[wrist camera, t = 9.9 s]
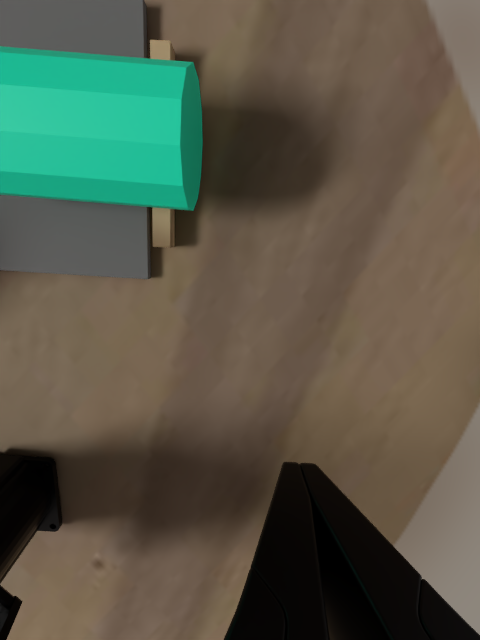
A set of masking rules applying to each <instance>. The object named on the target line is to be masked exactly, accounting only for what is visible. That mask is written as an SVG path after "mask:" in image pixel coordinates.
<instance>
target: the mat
mask: <svg viewBox="0 0 480 640" xmlns="http://www.w3.org/2000/svg"><path fill="white" fill-rule="evenodd" d="M0 46H3V47H15V48H27V49H39V50H51V51H64V52H76V53H88V54H100V55H112V56H124V57H136V58H147V12H146V4H145V2H144V0H0ZM0 270H6V271H23V272H40V273H56V274H73V275H89V276H106V277H122V278H139V279H149V278H151V264H150V207H142V206H130V205H118V204H106V203H94V202H82V201H70V200H58V199H46V198H34V197H22V196H10V195H0Z"/></svg>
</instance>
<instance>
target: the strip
mask: <svg viewBox="0 0 480 640" xmlns="http://www.w3.org/2000/svg"><path fill="white" fill-rule="evenodd" d="M150 59H161V60H173V61H175V52H174V49H173V47H172V44H171V42H170V41H164V40H150ZM152 219H153V247H168V248H171V247H175V209H166V208H154V207H152Z"/></svg>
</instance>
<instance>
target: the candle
mask: <svg viewBox="0 0 480 640" xmlns="http://www.w3.org/2000/svg"><path fill="white" fill-rule="evenodd" d="M202 147H203V135H202V106H201V96H200V87H199V79H198V76H197V73H196V69H195V66H194V63H193V62H185V61H173V60H161V59H149V58H136V57H124V56H112V55H100V54H88V53H76V52H64V51H51V50H39V49H27V48H15V47H3V46H0V195H10V196H22V197H34V198H46V199H58V200H70V201H82V202H94V203H106V204H118V205H130V206H142V207H154V208H166V209H179V210H191V211H194V208H195V205H196V202H197V199H198V195H199V187H200V180H201V169H202Z"/></svg>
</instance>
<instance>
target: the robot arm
mask: <svg viewBox="0 0 480 640" xmlns="http://www.w3.org/2000/svg"><path fill="white" fill-rule="evenodd" d="M46 464H47V465H48V466H47V465H46ZM61 525H62V516H61V508H60V499H59V490H58V481H57V472H56V463H55V461H54V460H53V459H52V458H48V457H33V456H16V455H0V583H1V582H2V580H3V579H4V578H5V576H6V575H7V573H8V572H9V570H10V569H11V568H12V566H13V565H14V563H15V562H16V560H17V559H18V558H19V556H20V555H21V553H22V552H23V550H24V549H25V548H26V546H27V545H28V543H29V542H30V540H31V539H32V537H33V536H34V535H35V533H36V532H37V531H53V532H54V531H58V529H59V528H60V526H61ZM421 579H422V577H421V575H420V574H419V573H418V572H417V571H416V570H415V569H414V568H413V567H412V566H411V565H410V563H409V562H408V561H407V560H406V559H405V558H404V557H403V556H402V555H401V554H400V553H399V552H398V551H397V550H396V549H395V548H394V546H393V545H392V544H391V543H390V542H389V541H388V540H387V539H386V538H385V537H384V536H383V535H382V534H381V533H380V532H379V531H378V530H377V529H376V527H375V526H374V525H373V524H372V523H371V522H370V521H369V520H368V519H367V518H366V517H365V516H364V515H363V514H362V513H361V512H360V511H359V509H358V508H357V507H356V506H355V505H354V504H353V503H352V502H351V501H350V500H349V499H348V498H347V497H346V496H345V495H344V494H343V493H342V492H341V490H340V489H339V488H338V487H337V486H336V485H335V484H334V483H333V482H332V481H331V480H330V479H329V478H328V477H327V476H326V475H325V474H324V472H323V471H322V470H321V469H320V468H319V467H318V466H317V465H316V464H313V463H300V464H298V463H296V462H284V463H283V465H282V468H281V471H280V474H279V478H278V481H277V484H276V487H275V490H274V494H273V497H272V500H271V503H270V507H269V510H268V513H267V516H266V519H265V523H264V526H263V529H262V532H261V536H260V539H259V542H258V545H257V548H256V552H255V555H254V558H253V561H252V564H251V569H250V570H249V573H248V577H247V580H246V583H245V586H244V589H243V592H242V595H241V598H240V601H239V603H238V606H237V609H236V612H235V614H234V617H233V619H232V621H231V624H230V626H229V628H228V631H227V633H226V635H225V638H224V640H480V635H479V634H478V633H477V632H476V631H475V630H474V629H473V628H471V626H469V624H467V623H466V622H465V620H464V619H463V618H461V616H460V615H459V614H458V613H457V612H456V611H455V610H454V609H453V608H452V607H451V606H450V605H449V604H448V603H447V602H446V601H445V600H444V599H443V598H442V597H441V596H440V595H439V594H438V593H437V592H436V591H435V590H434V589H433V588H432V587H431V585H430V584H429V583H428V582H427V581H426V580H424V579H422V580H421ZM21 604H22V601H21V600H20V599H19V598H18V597H17V596H12V595H11V594H10V593H9V592H8V591H7V590H5V589H4V588H3V587H2V586H1V585H0V640H6V639H7V637H8V635H9V632H10V630H11V627H12V625H13V623H14V620H15V618H16V616H17V613H18V611H19V609H20V606H21Z"/></svg>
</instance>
